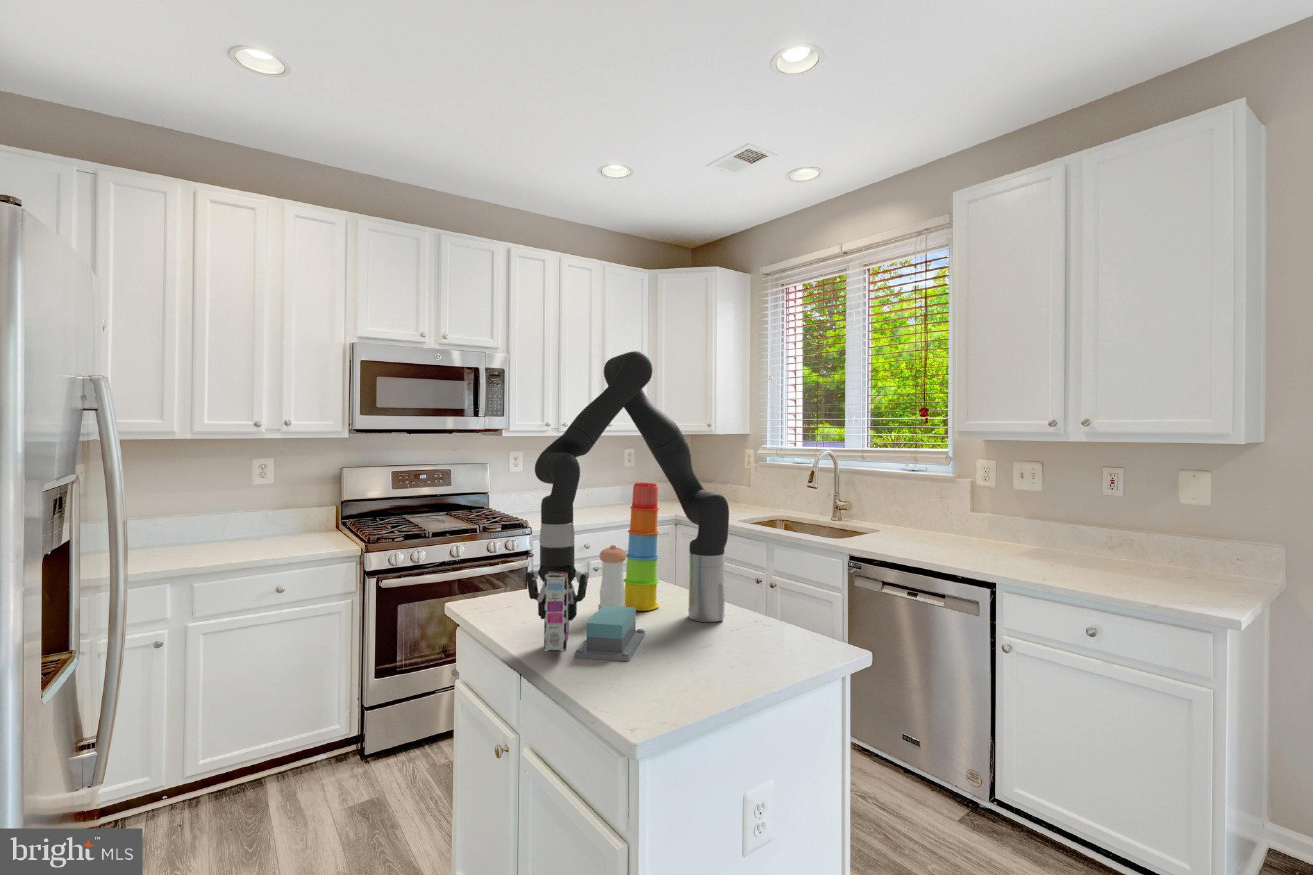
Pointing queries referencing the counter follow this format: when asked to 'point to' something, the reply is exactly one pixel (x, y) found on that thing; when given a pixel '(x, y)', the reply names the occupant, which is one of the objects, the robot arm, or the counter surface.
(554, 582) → the candy bar box
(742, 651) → the counter surface
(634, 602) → the stacking cups
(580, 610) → the counter surface
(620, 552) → the pepper shaker
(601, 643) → the teal gray mounted block
